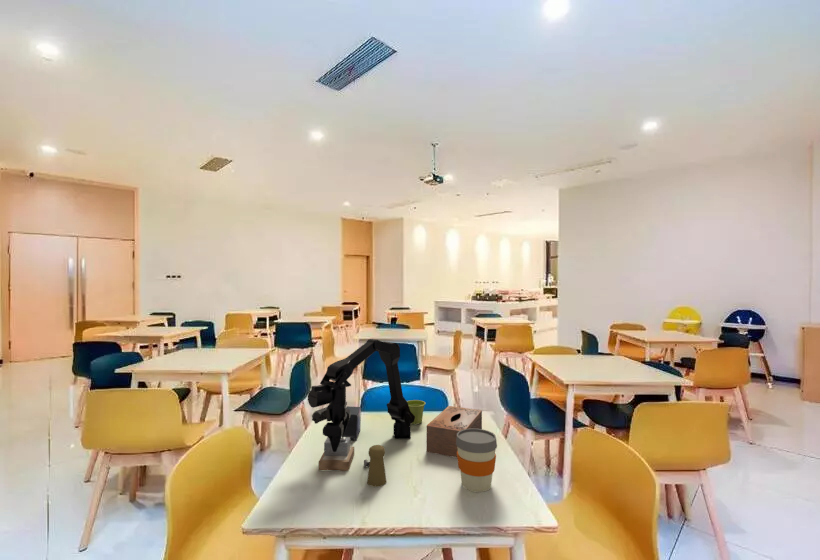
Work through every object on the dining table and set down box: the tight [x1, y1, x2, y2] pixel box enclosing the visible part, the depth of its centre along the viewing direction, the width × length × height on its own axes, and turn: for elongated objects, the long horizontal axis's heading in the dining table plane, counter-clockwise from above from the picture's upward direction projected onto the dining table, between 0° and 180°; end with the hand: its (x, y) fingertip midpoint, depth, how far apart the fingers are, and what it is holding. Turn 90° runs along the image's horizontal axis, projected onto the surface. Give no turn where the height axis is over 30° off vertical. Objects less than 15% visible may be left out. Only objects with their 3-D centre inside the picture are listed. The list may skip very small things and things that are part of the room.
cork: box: [366, 444, 387, 488], centre depth 122 cm, size 6×6×11 cm
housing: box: [323, 436, 351, 456], centre depth 135 cm, size 5×8×5 cm, turn 89°
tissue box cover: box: [425, 405, 483, 459], centre depth 153 cm, size 26×14×10 cm, turn 156°
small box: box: [343, 405, 362, 442], centre depth 159 cm, size 11×6×10 cm, turn 179°
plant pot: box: [406, 399, 426, 425], centre depth 175 cm, size 9×9×9 cm
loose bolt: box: [363, 459, 370, 468], centre depth 133 cm, size 6×2×2 cm, turn 109°
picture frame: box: [318, 446, 355, 472], centre depth 135 cm, size 10×12×3 cm
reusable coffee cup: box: [456, 428, 498, 493], centre depth 121 cm, size 13×13×15 cm
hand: (337, 445), depth 135 cm, fingers open, 9 cm apart
